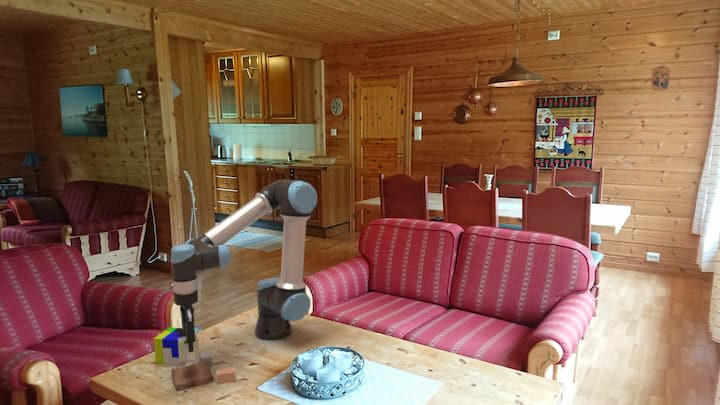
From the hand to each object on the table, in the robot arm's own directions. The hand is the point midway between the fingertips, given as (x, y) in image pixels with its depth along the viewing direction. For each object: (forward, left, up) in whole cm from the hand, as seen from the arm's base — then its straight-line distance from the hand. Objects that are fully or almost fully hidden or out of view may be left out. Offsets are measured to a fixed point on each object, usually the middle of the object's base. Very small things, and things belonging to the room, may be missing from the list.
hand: (190, 356), depth 164 cm
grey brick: (-6, -9, -8) cm, 14 cm away
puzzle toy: (+3, -18, -8) cm, 20 cm away
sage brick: (0, 0, 0) cm, 1 cm away
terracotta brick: (-10, +7, -8) cm, 15 cm away
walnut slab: (0, 0, -8) cm, 8 cm away
